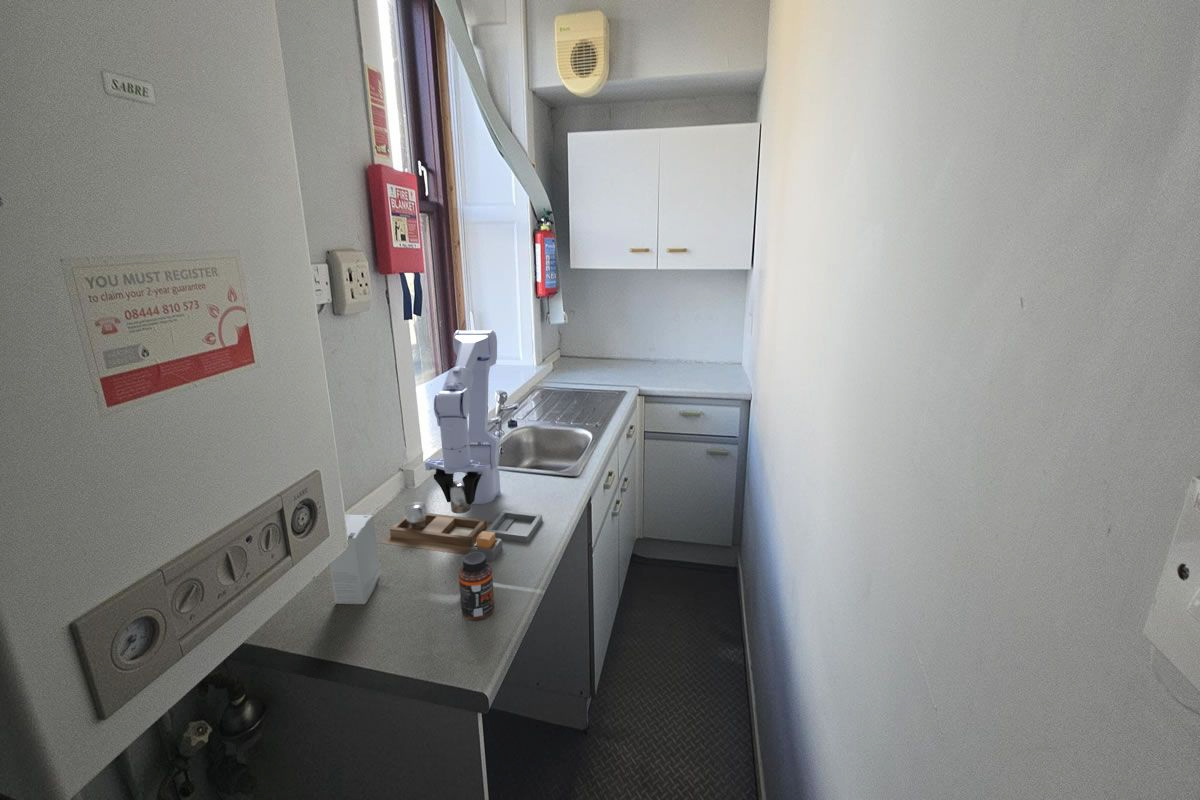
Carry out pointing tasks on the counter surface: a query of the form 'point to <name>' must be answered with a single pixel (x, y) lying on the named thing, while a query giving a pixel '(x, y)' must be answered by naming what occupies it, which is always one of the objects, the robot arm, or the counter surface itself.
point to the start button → (485, 540)
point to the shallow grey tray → (516, 526)
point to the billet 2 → (458, 497)
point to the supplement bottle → (476, 587)
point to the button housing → (489, 550)
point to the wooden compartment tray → (439, 533)
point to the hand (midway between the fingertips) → (460, 501)
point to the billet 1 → (416, 515)
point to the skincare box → (356, 563)
